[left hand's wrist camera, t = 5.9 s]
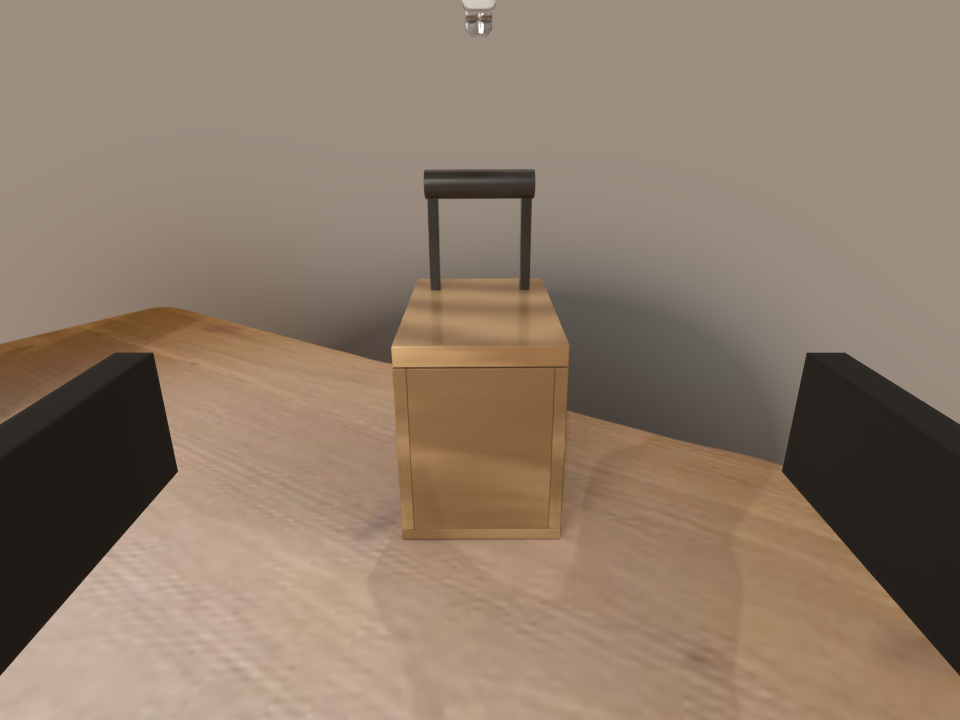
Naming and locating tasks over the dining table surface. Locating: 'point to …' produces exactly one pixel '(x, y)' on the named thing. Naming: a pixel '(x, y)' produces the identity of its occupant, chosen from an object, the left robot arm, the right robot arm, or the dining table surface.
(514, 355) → the lid
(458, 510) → the chest
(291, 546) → the dining table surface
